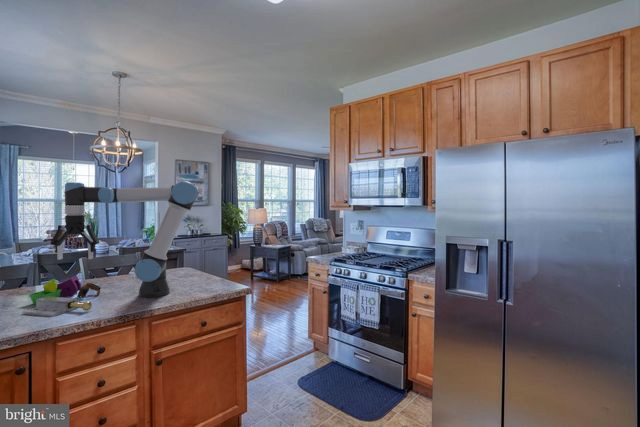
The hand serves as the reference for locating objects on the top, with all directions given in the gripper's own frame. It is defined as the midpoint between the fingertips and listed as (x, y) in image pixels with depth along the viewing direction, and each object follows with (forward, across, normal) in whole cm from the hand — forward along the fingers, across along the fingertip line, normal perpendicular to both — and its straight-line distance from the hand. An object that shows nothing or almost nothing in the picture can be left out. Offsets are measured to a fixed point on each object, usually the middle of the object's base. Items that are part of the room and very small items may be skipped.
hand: (75, 259), depth 157 cm
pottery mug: (+23, +4, -17) cm, 29 cm away
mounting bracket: (+23, +21, -21) cm, 37 cm away
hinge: (+22, +6, +5) cm, 24 cm away
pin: (+22, -2, +7) cm, 23 cm away
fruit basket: (+23, +18, -9) cm, 30 cm away
